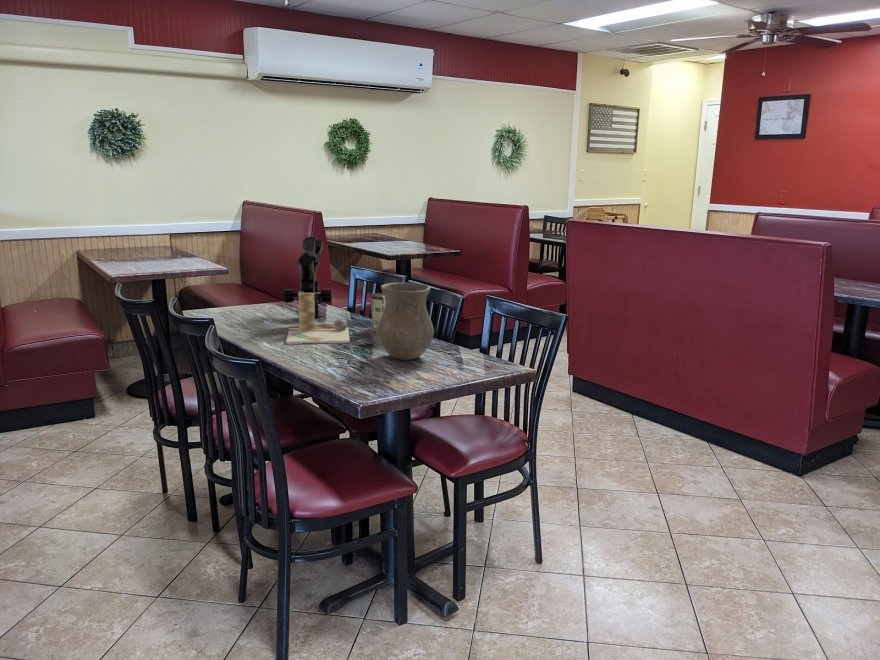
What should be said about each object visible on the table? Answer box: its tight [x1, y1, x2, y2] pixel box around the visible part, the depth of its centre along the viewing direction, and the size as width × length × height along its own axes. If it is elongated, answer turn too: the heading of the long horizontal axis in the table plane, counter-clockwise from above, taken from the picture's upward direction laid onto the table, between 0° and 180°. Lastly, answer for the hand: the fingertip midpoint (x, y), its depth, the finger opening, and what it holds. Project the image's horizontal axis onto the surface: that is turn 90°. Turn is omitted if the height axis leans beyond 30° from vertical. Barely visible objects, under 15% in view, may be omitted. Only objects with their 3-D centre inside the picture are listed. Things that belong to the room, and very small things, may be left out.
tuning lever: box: [288, 293, 347, 330], centre depth 270 cm, size 22×4×14 cm, turn 99°
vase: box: [376, 281, 435, 361], centre depth 236 cm, size 20×19×25 cm
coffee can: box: [370, 292, 384, 332], centre depth 278 cm, size 10×10×14 cm
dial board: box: [285, 326, 351, 345], centre depth 265 cm, size 23×22×1 cm
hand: (307, 313), depth 273 cm, fingers closed
